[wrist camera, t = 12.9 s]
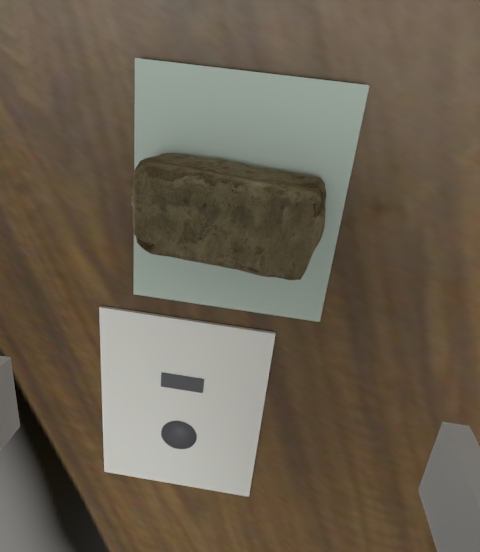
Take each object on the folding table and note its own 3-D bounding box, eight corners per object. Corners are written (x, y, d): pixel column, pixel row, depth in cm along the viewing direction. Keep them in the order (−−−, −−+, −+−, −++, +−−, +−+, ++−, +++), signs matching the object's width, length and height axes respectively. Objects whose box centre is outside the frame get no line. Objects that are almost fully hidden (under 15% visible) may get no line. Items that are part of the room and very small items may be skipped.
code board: (249, 494, 42) (248, 497, 41) (105, 469, 43) (103, 472, 42) (275, 331, 34) (275, 334, 34) (100, 305, 35) (98, 307, 35)
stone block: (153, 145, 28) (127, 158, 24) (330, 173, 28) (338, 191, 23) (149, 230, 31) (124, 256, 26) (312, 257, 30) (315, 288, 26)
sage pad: (319, 315, 33) (319, 321, 32) (137, 288, 34) (133, 294, 33) (366, 85, 27) (369, 85, 26) (140, 58, 27) (134, 57, 26)
